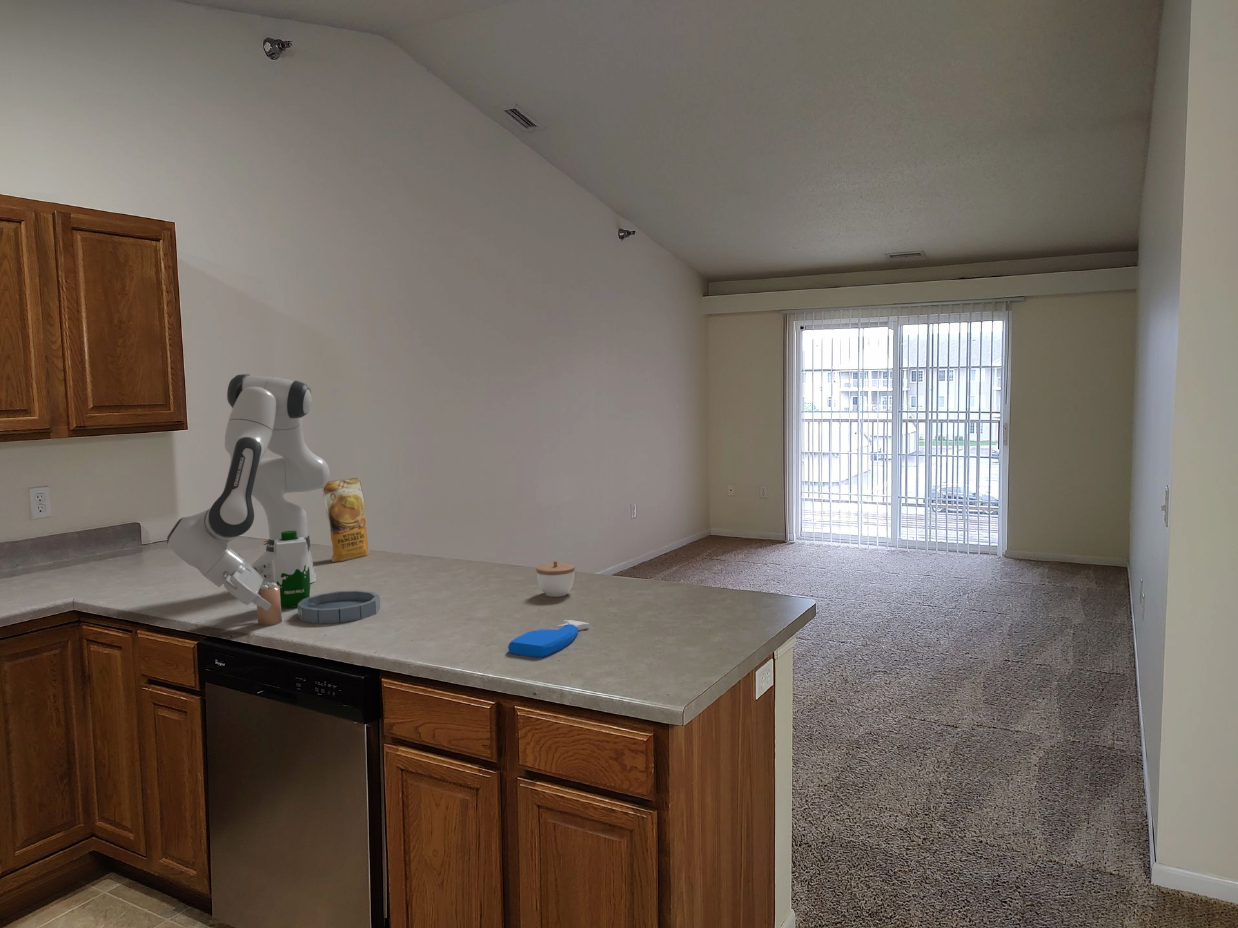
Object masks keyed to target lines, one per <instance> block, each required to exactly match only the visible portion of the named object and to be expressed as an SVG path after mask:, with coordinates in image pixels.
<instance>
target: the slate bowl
mask: <svg viewBox="0 0 1238 928" xmlns="http://www.w3.org/2000/svg"><path fill="white" fill-rule="evenodd" d="M380 610H381V597H380V594H378V593H377V592H374V591H368V590H339V591H330V592H326V593H319V594H315V595H312V596H310V597H308V598H305V599H303V600H302V601H300V602H299V603H298V607H297V616H298V618H299V620H301V621H302V622H305V623H311V624H319V625H320V624H321V625H322V624H337V623H338V624H339V623H345V622H352V621H358V620H362V619H365V618H368V617H371V616H374V615H376V614H377V613H378V612H379V611H380Z"/></svg>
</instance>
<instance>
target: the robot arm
mask: <svg viewBox="0 0 1238 928" xmlns="http://www.w3.org/2000/svg"><path fill="white" fill-rule="evenodd" d="M226 400H227V402H228V404H229V406H230V407H231V412H230V414H229V417H228V421H227V423H226V424H227V425H226V429H225V435H224V448H225V450H226V451H227V453H228V454H229V458H230V463H229V468H228V472H227V477H226V480H225V485H224V488H223V491H222V494H220V496H219V497H218V498H217V499H216V500H215V501H214V502H213V504H212V506H211V507H210V508H208V509H205V510H204V511H201V512H199V513H197V514H196V513H195V514H193V515H188V516H183V517H181V518H180V519H178V520H177V521H176V523H175V524H174V526H173V528H172V529H171V531H170V532H168V533H169V534H168V535H167V537H166V544H167V546H168V548H169V549H170V550H171V551H172V552H173V553H174V554H175V555H177V557H178V558H180V559H181V560H182V561H183V562H185V563H186V564H187V565H189V566H191V567H194V568H195V569H197V570H198V571H199V572H200V573H201V576H203V577H204V578H205V579H208V581H210V582H211V583H213V584H214V585H215V586H217V587H218V588H220V587H221V586H222V585H223V587H224V588H225V590H226V591H227V592H228V593H230V594H231V595H232V596H233V597H234V598H235V599H237V600H238V601H239V602H240V603H242V604H244V605H246V606H249V605H250V604H251V603H253V604H254V605H256V606H257V605H258V606H260V607H262V608H263V609H265V610H268V609H269V608H270V607H271V603H270V602H269V601H267V600H265V599H263V598H262V597H261V596H260V595H259V594H258V592H259V589H260V587H261V586H262V584H263V583H264V582H269V583H270V584H271V583H276V578H275V562H274V540H279V539H282V538H281V532H285V531H296V532H297V537H298V538H300V537H303V538H304V539H305V540H306V542H307V546H308V556H309V571H310V584H312V583H314V582H316V581H317V573H316V572H315V569H314V563H313V556H312V552H311V551H310V548H311V539H310V535H308V534H309V532H308V516H307V512H306V510H305V509H304V508H303V507H301V506H299V505H297V504H295V503H293V502H289V501H288V500H286V499H285V498H284V494H289V493H303V492H304V493H305V492H307V493H308V492H312V491H315V490H320V489H323V487H324V486H325V485H326V484H327V482H328V481H330V473H331V471H330V468H329V465H328V463H327V462H326V461H325V459H323V458H322V457H320V456H318V455H317V454H315V453H314V452H312V450H311V449H309V446H308V445H307V444H306V442H305V437H304V429H303V417H305V416H306V415H308V413H309V411H310V408H311V405H312V401H313V398H312V390H311V388H310V387H309V386H308V385H307V384H306V383H304V382H302V381H299V380H291V379H287V378H282V377H279V376H268V375H267V376H266V375H251V374H249V373H248V374H247V373H246V374H245V373H244V374H237V375H236V376H234V377H233V378H231V379H230V382H229V384H228V386H227V394H226ZM267 450H269V451H270V452H271V453H273V454H275V455H278V456H280V457H264V455H265V453H267ZM263 457H264V458H263ZM252 497H253V498H255V500H257V502H259V504H260V505H261V506H262V507H263V509H264V512H265V515H266V518H267V526H268V536H269V539H268V540H264V541H263V546H266V548H265V551H264V552H263V553H262V554H261V555H260V556H259V557H258V558H257V559H256V560H255V561H254V562H253V563H252V564H251V565H250V564H249V563H248V562H246V560H245V557H244V556H242V555H241V553H237V552H235V551H234V550H233V549H232V548H230V547H229V546H228V543H229V542H230V541H233V540H235V539H236V538H238V537H239V536H242V535H243V534H246V533H247V532H248V531H249V530H250V529H251V527H252V525H253V523H254V520H255V509H254V506H253V501H252Z"/></svg>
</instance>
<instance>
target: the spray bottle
mask: <svg viewBox="0 0 1238 928" xmlns="http://www.w3.org/2000/svg"><path fill="white" fill-rule="evenodd" d="M556 628H558V629H548V628H547V629H536V630H534V629H533V630H531V631H528V632H527V631H526V632H525V633H523V634H521V635H519V636H516V637H515V638H514V639H512V640H511V641H510V642H509V643H508V645H507V650H508V652H509V653H510V654H514V655H518V656H524V657H531V658H540V659H541V658H545V657H548V656H550V655H552V654H554V653H557V652H558V651H561V650H562V649H564V648H566V647H567V646H568V645H570V644H572V642H573V641H574V640H575V638H576V637H577V635H578V633H579V631H582V630H589V629H590V623H589V622H584V621H579V620H572V619H570V620H569V619H564V620H563V622H562V624H559V625H556Z"/></svg>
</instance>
